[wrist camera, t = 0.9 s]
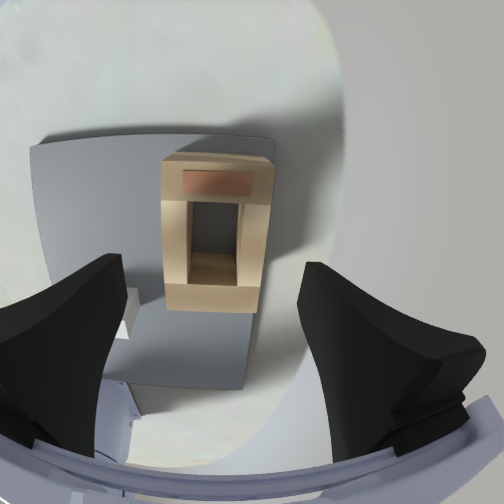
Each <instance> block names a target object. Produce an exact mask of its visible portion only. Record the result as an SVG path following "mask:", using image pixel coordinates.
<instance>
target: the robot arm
mask: <svg viewBox="0 0 504 504" xmlns="http://www.w3.org/2000/svg"><path fill="white" fill-rule="evenodd" d="M127 300H128V293H127V288H126V282H125V275H124V269H123V262H122V254H116V253H107V254H104V255H102V256H100V257H99V258H97V259H95V260H93V261H92V262H90V263H89V264H87V265H85V266H84V267H82V268H80V269H79V270H77V271H76V272H74V273H73V274H71V275H69V276H68V277H66V278H64V279H62V280H61V281H59V282H57V283H56V284H54V285H52V286H51V287H49V288H47V289H45V290H43V291H41V292H39V293H37V294H35V295H33V296H31V297H29V298H27V299H24V300H22V301H19V302H17V303H14V304H12V305H9V306H7V307H4V308H1V309H0V499H1V500H2V501H3V502H5V503H6V504H159V503H152V502H145V501H139V500H134V498H133V497H134V493H137V494H143V495H149V496H156V497H163V498H173V499H182V500H197V501H246V500H260V499H271V498H280V497H288V496H294V495H300V494H306V493H312V492H316V491H321V490H324V491H323V492H322V493H321V495H320V496H319V497H317V498H315V499H312V500H305V501H298V502H291V503H284V504H439V503H441V502H442V501H444V500H445V499H447V498H448V497H449V496H451V495H452V494H453V493H455V492H456V491H457V490H459V489H460V488H461V487H462V486H464V485H465V484H466V483H467V482H469V481H470V480H471V479H472V478H473V477H475V476H476V475H477V474H478V473H479V472H480V471H481V470H483V469H484V468H485V467H486V466H487V465H488V464H489V463H490V462H491V461H493V460H494V459H495V458H496V457H497V456H498V455H499V454H500V453H501V452H502V451H503V450H504V420H503V419H502V417H501V415H500V414H499V412H498V410H497V409H496V407H495V405H494V404H493V402H492V401H491V399H490V397H489V396H488V395H485V396H483V397H482V398H480V399H478V400H477V401H475V402H473V403H472V404H470V405H469V406H467V407H466V408H464V406H463V405H462V402H463V401H464V400H465V395H464V394H463V392H462V391H463V390H464V388H465V387H466V386H467V385H468V384H469V382H470V381H471V380H472V379H473V377H474V376H475V375H476V373H477V372H478V371H479V369H480V368H481V366H482V365H483V363H484V361H485V357H486V350H485V348H484V347H483V346H482V345H481V343H480V342H479V341H478V340H477V339H476V338H475V337H473V336H469V335H465V334H461V333H456V332H452V331H448V330H445V329H442V328H439V327H435V326H432V325H429V324H427V323H424V322H422V321H419V320H417V319H414V318H412V317H410V316H407V315H405V314H403V313H401V312H399V311H397V310H395V309H393V308H392V307H389V306H387V305H386V304H384V303H382V302H381V301H379V300H377V299H376V298H374V297H372V296H371V295H369V294H368V293H366V292H365V291H363V290H362V289H360V288H359V287H357V286H355V285H354V284H353V283H351V282H350V281H348V280H347V279H346V278H344V277H343V276H341V275H340V274H339V273H337V272H336V271H334V270H333V269H331V268H330V267H328V266H327V265H325V264H323V263H321V262H306V265H305V270H304V274H303V279H302V283H301V288H300V292H299V296H298V301H297V307H298V312H299V317H300V321H301V325H302V328H303V331H304V334H305V336H306V339H307V342H308V344H309V347H310V350H311V352H312V355H313V358H314V361H315V363H316V366H317V369H318V372H319V376H320V379H321V384H322V388H323V393H324V398H325V403H326V408H327V414H328V421H329V428H330V435H331V445H332V457H333V464H328V465H323V466H318V467H313V468H306V469H301V470H293V471H286V472H277V473H267V474H254V475H253V474H252V475H192V474H179V473H168V472H160V471H152V470H146V469H139V468H134V467H128V466H123V464H124V463H125V462H126V460H127V458H128V454H129V447H130V440H131V433H132V427H133V421H134V420H141V415H140V413H139V411H138V408H137V406H136V404H135V402H134V399H133V397H132V394H131V392H130V390H129V387H128V385H127V382H121V381H114V380H108V379H103V378H102V375H103V371H104V367H105V364H106V361H107V358H108V355H109V352H110V350H111V347H112V344H113V342H114V339H115V337H116V334H117V332H118V329H119V326H120V324H121V321H122V319H123V315H124V312H125V308H126V304H127ZM326 489H327V490H326Z"/></svg>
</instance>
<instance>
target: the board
mask: <svg viewBox="0 0 504 504" xmlns="http://www.w3.org/2000/svg"><path fill="white" fill-rule="evenodd" d="M274 145H275V140H273V139H267V138H257V137H246V136H233V135H216V134H187V133H156V134H127V135H111V136H99V137H89V138H79V139H71V140H64V141H57V142H50V143H44V144H38V145H34V146H31V147H30V166H31V179H32V189H33V197H34V205H35V212H36V218H37V224H38V229H39V234H40V239H41V244H42V248H43V253H44V257H45V261H46V265H47V269H48V272H49V276H50V279H51V283H52V285H54V284H56V283H57V282H59V281H61V280H62V279H64V278H66V277H68V276H69V275H71V274H73V273H74V272H76V271H77V270H79V269H80V268H82V267H84V266H85V265H87V264H89V263H90V262H92V261H93V260H95V259H97V258H99V257H100V256H102V255H104V254H107V253H116V254H122V262H123V269H124V275H125V282H126V288H127V293H128V300H127V304H126V308H125V312H124V315H123V319H122V321H121V324H120V326H119V329H118V332H117V334H116V337H115V339H114V342H113V344H112V347H111V350H110V352H109V355H108V358H107V361H106V364H105V367H104V371H103V375H102V378H103V379H108V380H114V381H121V382H128V383H135V384H143V385H152V386H162V387H173V388H188V389H212V390H243V385H244V378H245V371H246V363H247V356H248V349H249V342H250V334H251V327H252V319H253V313H225V312H197V311H178V310H167V305H166V294H165V283H164V269H163V253H162V232H161V161H162V160H163V159H165V158H166V157H168V156H169V155H171V154H172V153H174V152H207V153H227V154H242V155H254V156H264V157H265V158H267V159H268V160H269V161H270V162H271V163H272V161H273V153H274ZM237 214H238V203H219V202H197V201H194V216H193V252H203V253H227V254H234V251H235V238H236V226H237Z"/></svg>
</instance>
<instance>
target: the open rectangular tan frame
mask: <svg viewBox="0 0 504 504" xmlns="http://www.w3.org/2000/svg"><path fill="white" fill-rule="evenodd" d="M275 171H276V167H275V166H274V165H273V164H272V163H271V162H270V161H269V160H268V159H267V158H265V157H264V156H254V155H242V154H227V153H207V152H174V153H172V154H171V155H169V156H168V157H166V158H165V159H163V160H162V161H161V232H162V253H163V269H164V283H165V294H166V305H167V310H178V311H197V312H225V313H257V307H258V299H259V292H260V285H261V278H262V271H263V263H264V256H265V248H266V241H267V233H268V226H269V218H270V210H271V203H272V195H273V187H274V179H275ZM194 201H197V202H219V203H238V214H237V226H236V238H235V251H234V254H227V253H203V252H193V216H194Z"/></svg>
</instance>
